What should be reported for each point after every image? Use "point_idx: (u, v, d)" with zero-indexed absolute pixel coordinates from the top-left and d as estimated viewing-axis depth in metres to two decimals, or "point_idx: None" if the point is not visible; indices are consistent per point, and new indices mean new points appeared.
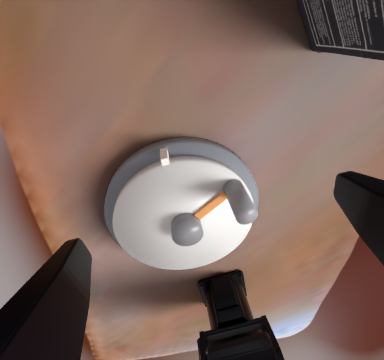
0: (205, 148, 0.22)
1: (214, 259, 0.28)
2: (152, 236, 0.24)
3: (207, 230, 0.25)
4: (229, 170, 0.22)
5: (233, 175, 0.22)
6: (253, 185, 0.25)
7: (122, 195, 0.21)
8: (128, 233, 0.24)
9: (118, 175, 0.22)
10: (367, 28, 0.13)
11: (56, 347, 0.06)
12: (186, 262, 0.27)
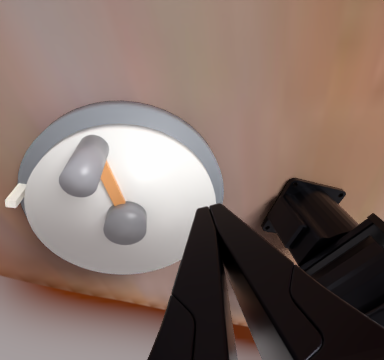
0: (35, 145, 0.16)
1: None
2: (125, 249, 0.21)
3: (153, 200, 0.18)
4: (66, 140, 0.15)
5: (73, 140, 0.15)
6: (129, 112, 0.16)
7: (50, 248, 0.19)
8: (106, 263, 0.21)
9: None
10: None
11: (227, 305, 0.06)
12: None
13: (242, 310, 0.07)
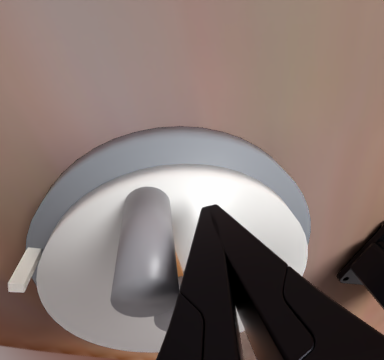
0: (53, 197, 0.11)
1: None
2: None
3: None
4: (104, 193, 0.10)
5: (116, 195, 0.09)
6: (198, 146, 0.10)
7: (72, 331, 0.14)
8: (146, 342, 0.16)
9: None
10: None
11: (234, 303, 0.06)
12: None
13: (238, 311, 0.07)
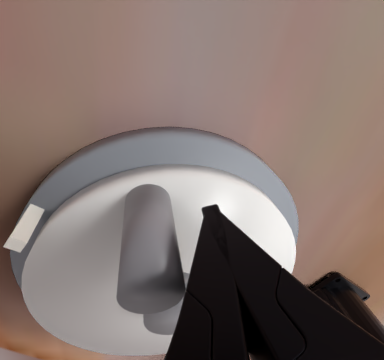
0: (94, 161, 0.10)
1: None
2: None
3: None
4: (105, 188, 0.09)
5: (117, 191, 0.09)
6: (247, 162, 0.11)
7: (52, 332, 0.13)
8: (128, 344, 0.15)
9: (18, 278, 0.13)
10: None
11: None
12: None
13: None
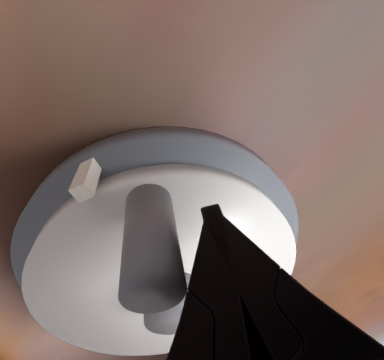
0: (178, 144, 0.10)
1: None
2: None
3: None
4: (106, 188, 0.09)
5: (118, 190, 0.09)
6: (286, 198, 0.13)
7: (52, 332, 0.13)
8: (128, 344, 0.15)
9: (17, 228, 0.11)
10: None
11: None
12: None
13: None
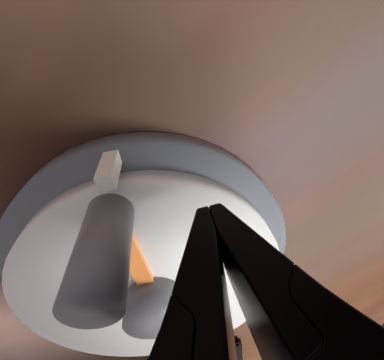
0: (201, 157, 0.11)
1: None
2: None
3: None
4: (67, 199, 0.09)
5: (77, 202, 0.09)
6: (280, 228, 0.14)
7: (43, 336, 0.14)
8: (121, 346, 0.15)
9: (15, 201, 0.10)
10: None
11: (228, 304, 0.06)
12: (238, 312, 0.15)
13: (242, 310, 0.07)
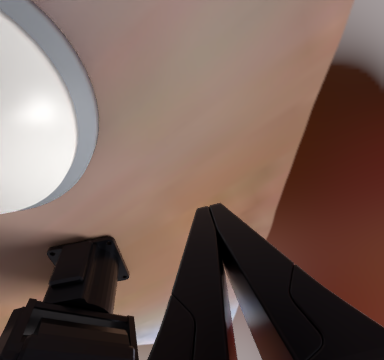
0: None
1: (65, 121, 0.15)
2: None
3: None
4: None
5: None
6: (72, 69, 0.15)
7: None
8: None
9: None
10: None
11: (228, 304, 0.06)
12: (49, 162, 0.16)
13: (242, 310, 0.07)
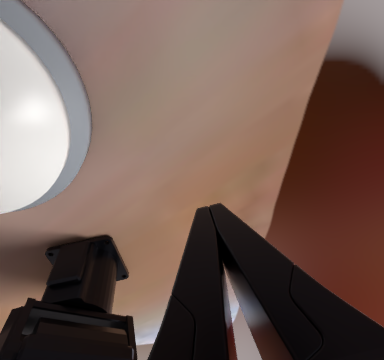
0: None
1: (56, 119, 0.15)
2: None
3: None
4: None
5: None
6: (61, 66, 0.15)
7: None
8: None
9: None
10: None
11: (228, 304, 0.06)
12: (42, 161, 0.16)
13: (242, 310, 0.07)
